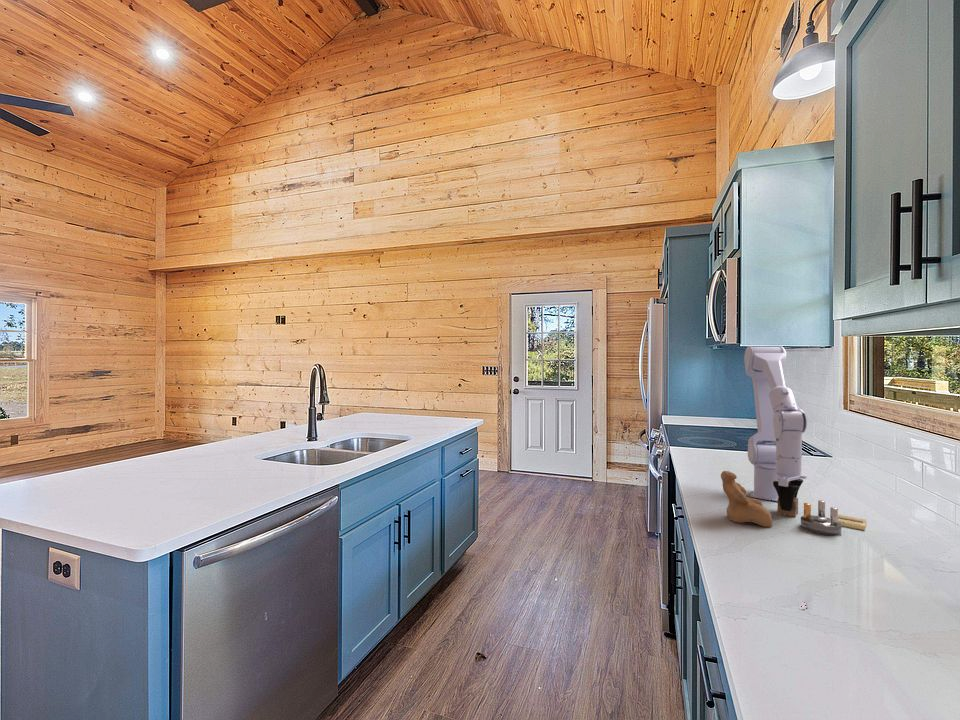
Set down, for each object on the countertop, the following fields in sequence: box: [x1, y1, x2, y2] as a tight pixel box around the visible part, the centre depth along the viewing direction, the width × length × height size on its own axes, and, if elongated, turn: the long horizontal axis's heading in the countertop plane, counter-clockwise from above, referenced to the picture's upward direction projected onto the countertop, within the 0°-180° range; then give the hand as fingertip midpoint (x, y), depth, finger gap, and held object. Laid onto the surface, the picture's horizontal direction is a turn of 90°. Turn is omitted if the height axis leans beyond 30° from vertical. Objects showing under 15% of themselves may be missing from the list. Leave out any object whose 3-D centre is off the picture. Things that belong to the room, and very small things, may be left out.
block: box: [776, 497, 799, 518], centre depth 129 cm, size 4×4×4 cm
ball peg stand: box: [800, 499, 843, 537], centre depth 117 cm, size 8×8×6 cm
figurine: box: [720, 470, 773, 528], centre depth 124 cm, size 11×9×15 cm
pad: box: [838, 514, 867, 531], centre depth 121 cm, size 6×6×1 cm
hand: (787, 508), depth 129 cm, fingers closed on block, 4 cm apart
